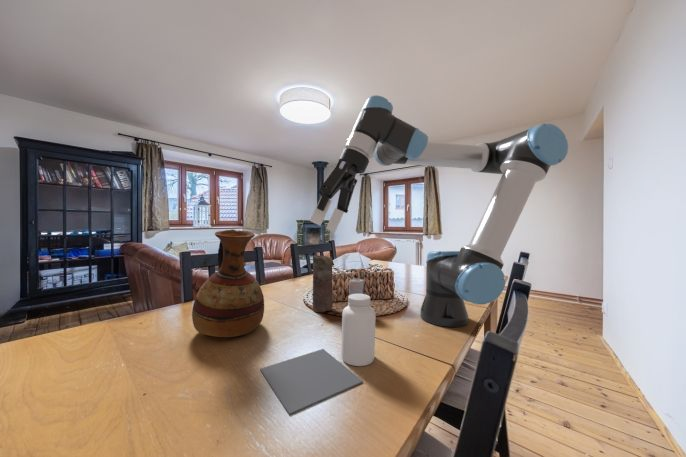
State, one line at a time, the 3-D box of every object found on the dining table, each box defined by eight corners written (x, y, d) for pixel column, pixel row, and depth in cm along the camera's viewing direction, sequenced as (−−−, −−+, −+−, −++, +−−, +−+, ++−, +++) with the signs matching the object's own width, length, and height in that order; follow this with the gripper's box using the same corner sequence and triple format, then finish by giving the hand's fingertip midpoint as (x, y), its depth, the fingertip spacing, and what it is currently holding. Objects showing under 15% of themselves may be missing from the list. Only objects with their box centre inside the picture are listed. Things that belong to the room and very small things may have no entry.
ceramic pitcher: (202, 353, 64) (201, 231, 63) (185, 327, 79) (184, 229, 78) (275, 331, 77) (276, 230, 76) (249, 312, 92) (249, 228, 91)
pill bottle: (373, 369, 58) (374, 302, 57) (338, 365, 60) (338, 300, 59) (376, 351, 66) (377, 292, 65) (344, 348, 67) (345, 290, 67)
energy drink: (365, 312, 94) (365, 279, 94) (361, 317, 89) (362, 282, 89) (351, 310, 96) (351, 277, 96) (346, 315, 91) (347, 280, 91)
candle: (312, 306, 100) (313, 254, 99) (332, 306, 100) (332, 254, 100) (312, 313, 92) (312, 257, 91) (332, 313, 93) (333, 257, 92)
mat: (323, 349, 66) (323, 348, 66) (362, 382, 53) (362, 381, 53) (260, 369, 57) (260, 368, 57) (289, 415, 44) (289, 413, 44)
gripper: (352, 166, 82) (324, 228, 81) (332, 125, 58) (292, 212, 57) (374, 174, 80) (345, 237, 79) (363, 136, 56) (321, 226, 55)
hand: (323, 227), depth 68 cm, fingers open, 13 cm apart
